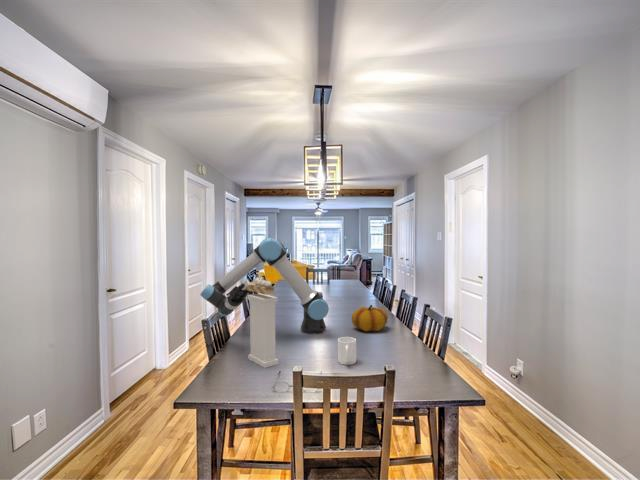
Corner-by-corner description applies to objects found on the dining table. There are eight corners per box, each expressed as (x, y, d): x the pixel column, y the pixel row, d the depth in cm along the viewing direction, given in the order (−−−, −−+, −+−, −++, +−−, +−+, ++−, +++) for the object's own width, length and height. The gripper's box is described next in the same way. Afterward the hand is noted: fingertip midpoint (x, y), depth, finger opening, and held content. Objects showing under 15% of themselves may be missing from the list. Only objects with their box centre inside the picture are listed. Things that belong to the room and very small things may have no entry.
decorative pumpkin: (370, 323, 226) (370, 299, 226) (395, 330, 207) (394, 305, 207) (345, 328, 215) (345, 303, 215) (369, 336, 196) (369, 310, 196)
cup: (356, 358, 162) (355, 336, 162) (356, 368, 150) (356, 345, 150) (338, 358, 163) (338, 336, 163) (337, 368, 151) (337, 344, 151)
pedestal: (278, 363, 157) (277, 297, 156) (264, 367, 152) (263, 299, 152) (261, 355, 168) (260, 293, 168) (248, 358, 164) (247, 295, 163)
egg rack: (274, 293, 155) (273, 280, 155) (266, 294, 152) (265, 281, 152) (248, 287, 174) (248, 276, 174) (240, 288, 171) (240, 276, 171)
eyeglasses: (271, 393, 129) (271, 382, 129) (279, 374, 148) (279, 364, 148) (320, 393, 128) (320, 382, 128) (322, 374, 147) (322, 364, 147)
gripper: (250, 304, 186) (270, 286, 170) (220, 309, 175) (237, 290, 159) (247, 291, 189) (266, 272, 173) (216, 295, 178) (233, 275, 162)
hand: (252, 281), depth 166 cm, fingers closed on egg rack, 4 cm apart
